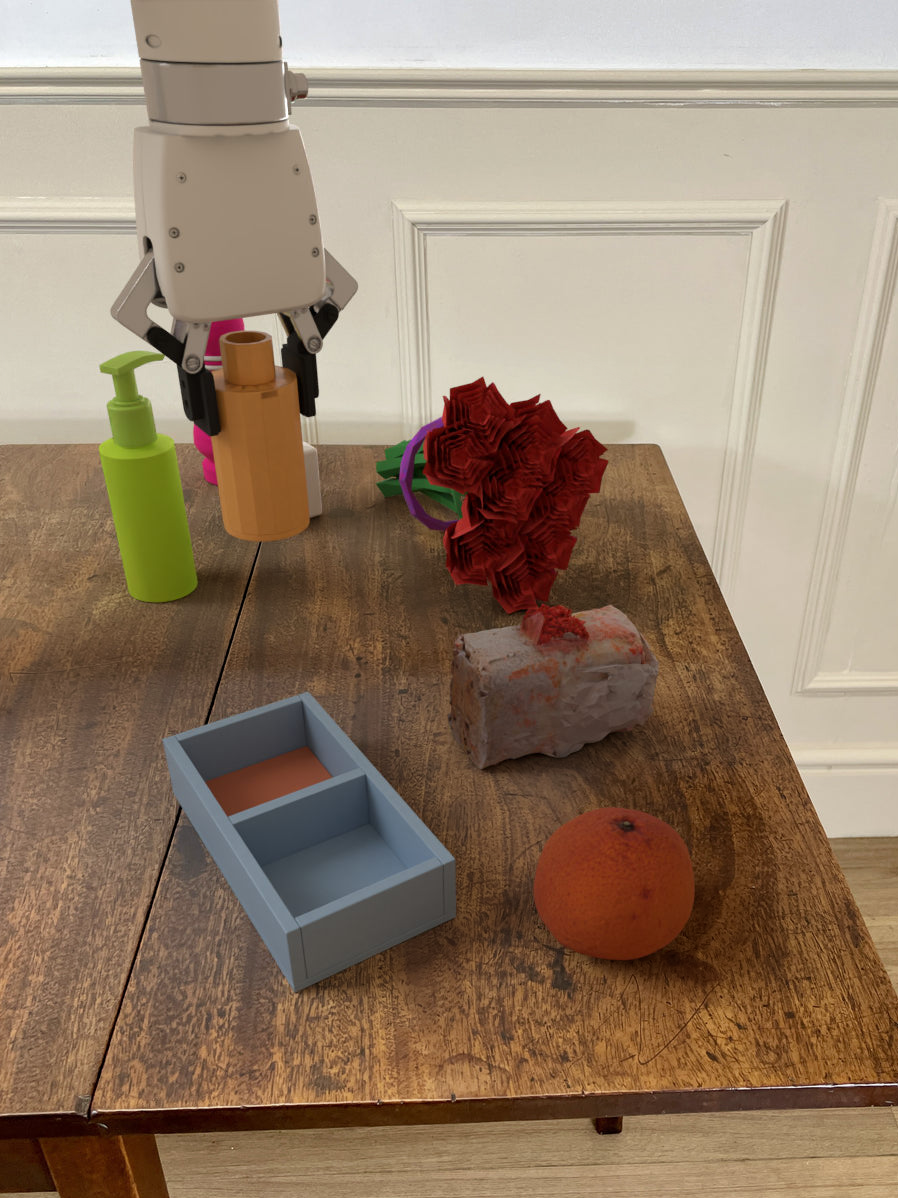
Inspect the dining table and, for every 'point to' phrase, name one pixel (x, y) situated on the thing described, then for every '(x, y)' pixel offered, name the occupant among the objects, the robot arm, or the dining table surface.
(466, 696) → the food item
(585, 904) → the fruit
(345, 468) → the dining table surface
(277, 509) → the bottle
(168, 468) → the soap dispenser
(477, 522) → the bouquet
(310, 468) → the medicine bottle
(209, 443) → the pepper mill
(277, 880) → the tray
